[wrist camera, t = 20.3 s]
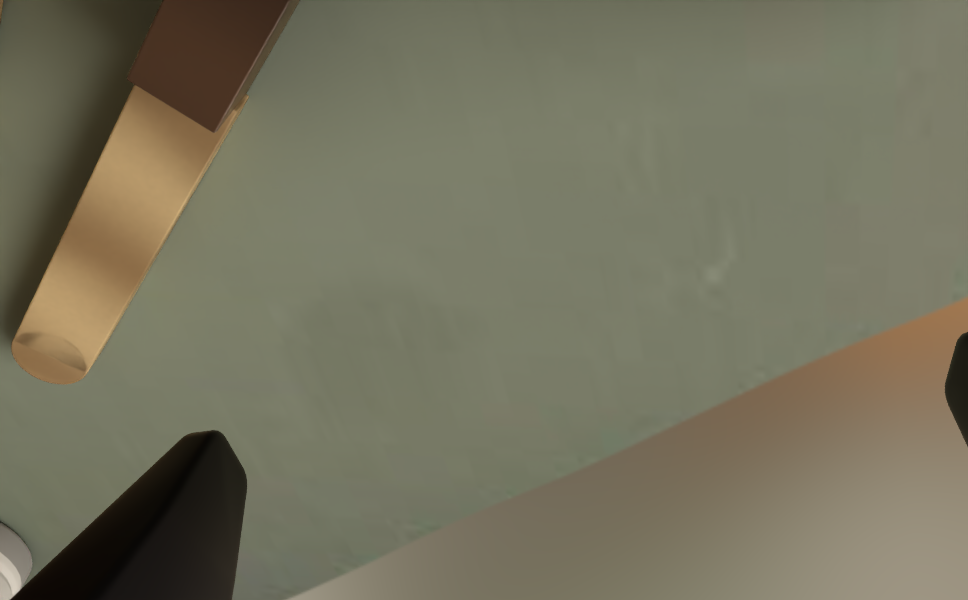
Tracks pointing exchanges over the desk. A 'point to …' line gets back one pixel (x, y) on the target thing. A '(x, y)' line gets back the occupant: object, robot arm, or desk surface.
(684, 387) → the desk surface
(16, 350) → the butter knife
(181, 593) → the robot arm
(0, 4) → the letter tile L
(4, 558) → the travel mug
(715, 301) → the desk surface
